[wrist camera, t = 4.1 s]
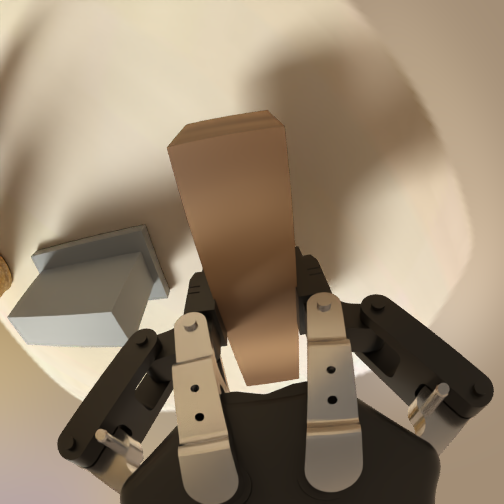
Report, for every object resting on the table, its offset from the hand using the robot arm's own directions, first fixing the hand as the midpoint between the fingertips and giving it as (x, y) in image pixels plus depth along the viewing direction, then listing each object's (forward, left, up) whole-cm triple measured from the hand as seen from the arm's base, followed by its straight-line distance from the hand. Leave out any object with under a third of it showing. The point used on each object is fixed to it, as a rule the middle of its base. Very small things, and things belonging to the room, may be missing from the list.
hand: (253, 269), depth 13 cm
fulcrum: (0, -11, -3) cm, 11 cm away
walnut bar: (0, 0, -1) cm, 1 cm away
